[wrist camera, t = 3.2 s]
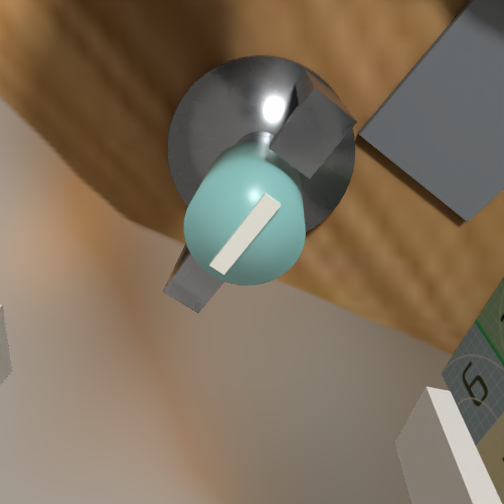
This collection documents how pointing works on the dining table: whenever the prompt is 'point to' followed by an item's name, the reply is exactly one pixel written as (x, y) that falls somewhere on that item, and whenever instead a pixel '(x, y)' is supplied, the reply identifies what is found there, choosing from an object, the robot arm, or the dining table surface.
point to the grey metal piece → (259, 130)
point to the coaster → (451, 113)
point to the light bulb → (247, 216)
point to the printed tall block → (483, 385)
